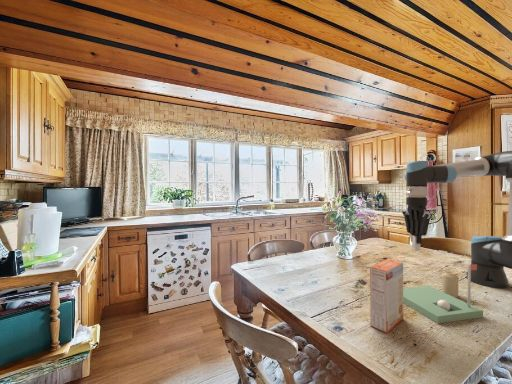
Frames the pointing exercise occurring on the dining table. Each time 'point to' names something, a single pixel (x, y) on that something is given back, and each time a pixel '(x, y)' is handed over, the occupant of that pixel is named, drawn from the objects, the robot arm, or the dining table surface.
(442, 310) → the green
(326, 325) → the dining table surface
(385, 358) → the dining table surface
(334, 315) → the dining table surface
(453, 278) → the candle
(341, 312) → the dining table surface
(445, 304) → the ball
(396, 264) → the cracker box
